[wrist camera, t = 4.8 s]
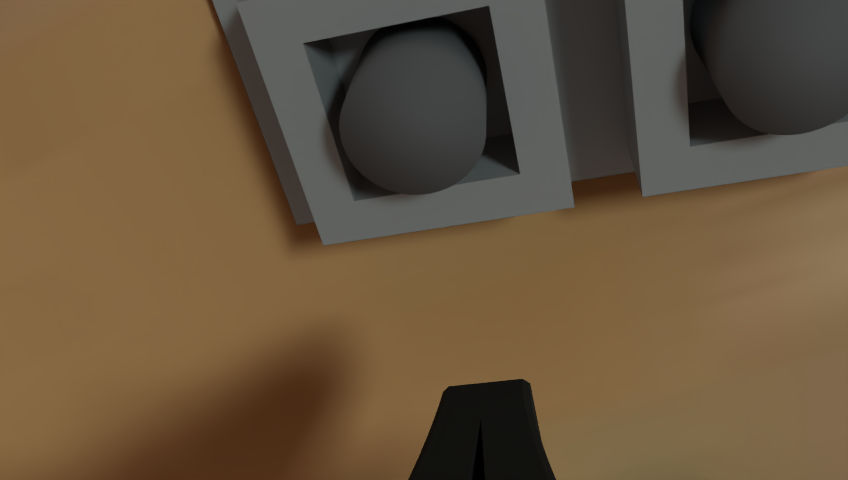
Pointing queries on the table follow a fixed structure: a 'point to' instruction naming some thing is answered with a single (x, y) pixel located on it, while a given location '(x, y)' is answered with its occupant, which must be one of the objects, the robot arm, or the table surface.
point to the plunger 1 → (416, 107)
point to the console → (507, 108)
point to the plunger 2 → (776, 60)
